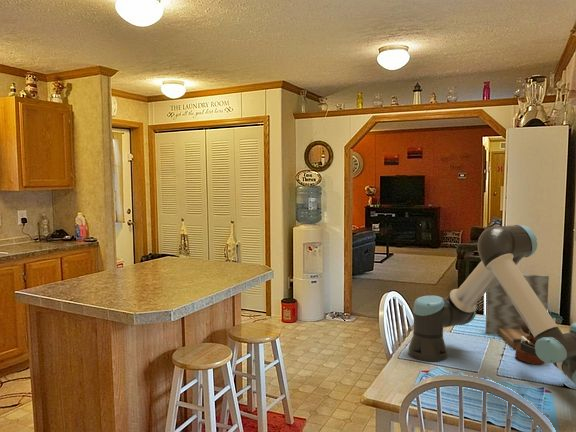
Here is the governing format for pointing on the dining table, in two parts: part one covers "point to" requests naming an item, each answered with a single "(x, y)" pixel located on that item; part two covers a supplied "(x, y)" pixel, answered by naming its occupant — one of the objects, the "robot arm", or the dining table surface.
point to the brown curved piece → (524, 355)
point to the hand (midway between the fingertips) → (541, 340)
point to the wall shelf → (511, 310)
